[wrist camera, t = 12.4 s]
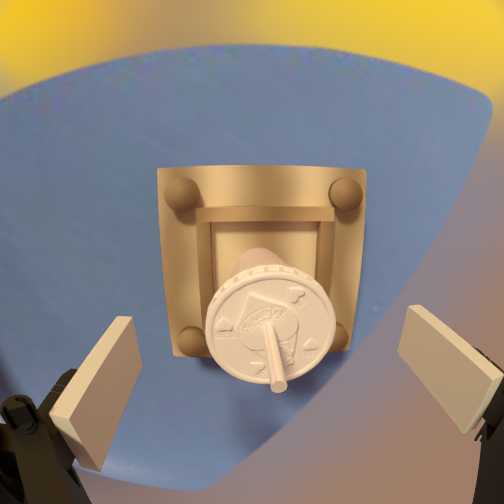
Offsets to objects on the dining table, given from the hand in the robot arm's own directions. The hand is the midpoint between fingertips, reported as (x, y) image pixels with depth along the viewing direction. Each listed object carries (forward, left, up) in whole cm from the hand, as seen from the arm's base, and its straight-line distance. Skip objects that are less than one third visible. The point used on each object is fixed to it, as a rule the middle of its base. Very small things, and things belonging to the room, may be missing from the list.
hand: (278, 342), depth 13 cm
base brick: (0, 0, -15) cm, 15 cm away
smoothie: (0, 0, -11) cm, 11 cm away
